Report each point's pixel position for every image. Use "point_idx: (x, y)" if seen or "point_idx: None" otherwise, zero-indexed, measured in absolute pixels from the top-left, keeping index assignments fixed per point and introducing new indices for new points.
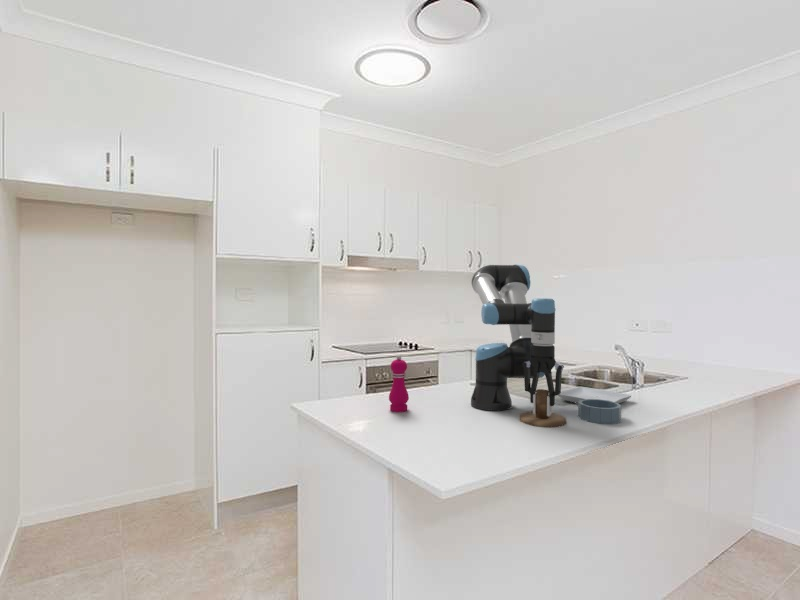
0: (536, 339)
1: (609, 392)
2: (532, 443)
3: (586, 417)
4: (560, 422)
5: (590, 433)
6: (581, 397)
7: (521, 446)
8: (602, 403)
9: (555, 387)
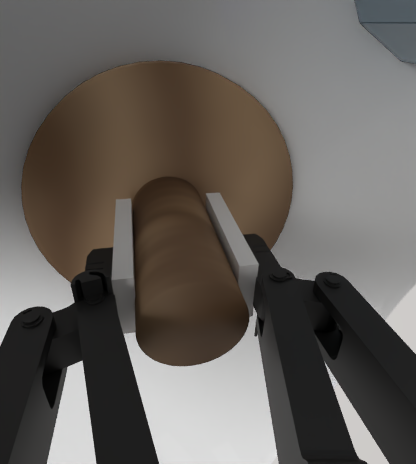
0: None
1: None
2: (228, 418)
3: (402, 50)
4: (274, 236)
5: (386, 245)
6: None
7: (211, 444)
8: None
9: (335, 372)
